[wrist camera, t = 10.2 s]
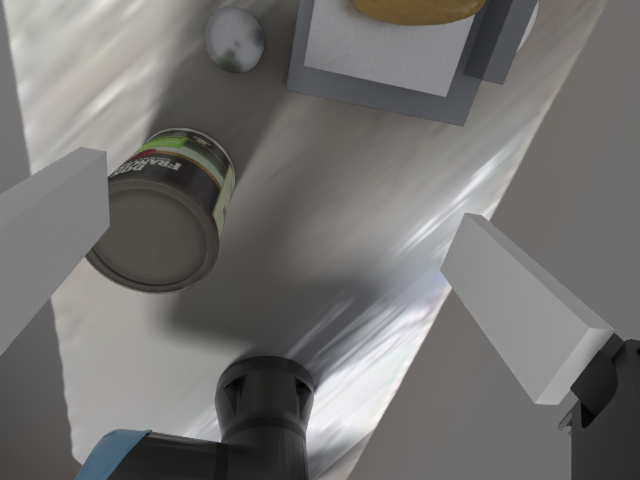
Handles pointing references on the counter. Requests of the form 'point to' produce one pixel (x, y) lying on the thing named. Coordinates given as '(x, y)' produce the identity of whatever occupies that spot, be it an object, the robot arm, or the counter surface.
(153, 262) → the coffee can
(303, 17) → the scale base
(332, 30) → the platform
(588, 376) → the robot arm
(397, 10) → the potato
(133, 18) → the counter surface
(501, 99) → the counter surface
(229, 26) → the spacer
